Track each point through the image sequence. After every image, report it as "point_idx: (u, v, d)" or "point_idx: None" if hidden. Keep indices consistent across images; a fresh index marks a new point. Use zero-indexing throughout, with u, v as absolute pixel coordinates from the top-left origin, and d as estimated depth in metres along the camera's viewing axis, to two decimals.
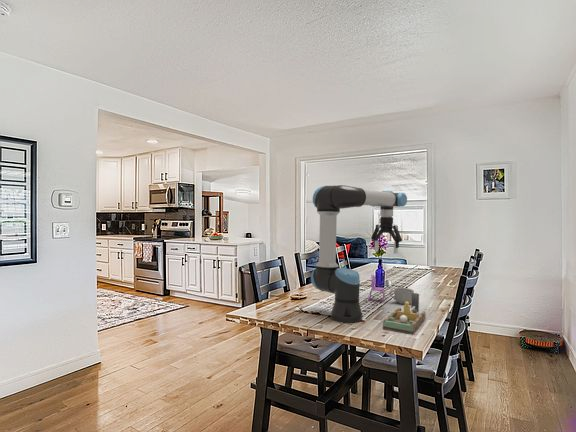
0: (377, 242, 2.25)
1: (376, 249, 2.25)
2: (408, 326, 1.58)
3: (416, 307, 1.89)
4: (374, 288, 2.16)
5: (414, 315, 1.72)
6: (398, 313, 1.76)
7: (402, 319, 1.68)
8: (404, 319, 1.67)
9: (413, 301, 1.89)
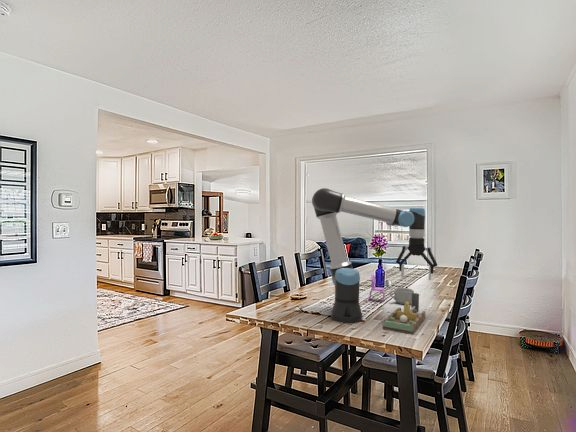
0: (403, 266, 1.94)
1: (403, 275, 1.93)
2: (408, 326, 1.58)
3: (416, 307, 1.89)
4: (374, 288, 2.16)
5: (414, 315, 1.72)
6: (398, 313, 1.76)
7: (402, 319, 1.68)
8: (404, 319, 1.67)
9: (413, 301, 1.89)
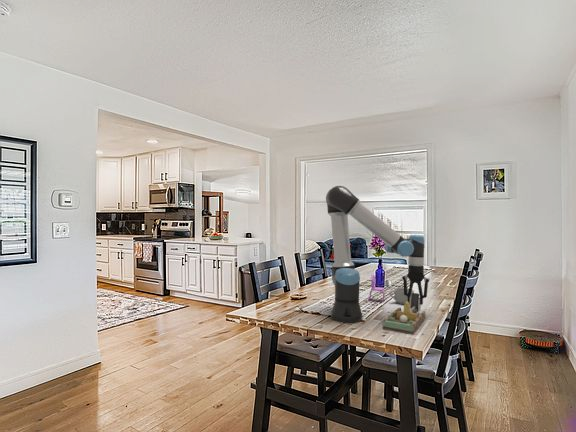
0: (411, 299, 1.92)
1: None
2: (408, 326, 1.58)
3: (416, 307, 1.89)
4: (374, 288, 2.16)
5: (414, 315, 1.72)
6: (398, 313, 1.76)
7: (402, 319, 1.68)
8: (404, 319, 1.67)
9: (413, 301, 1.89)
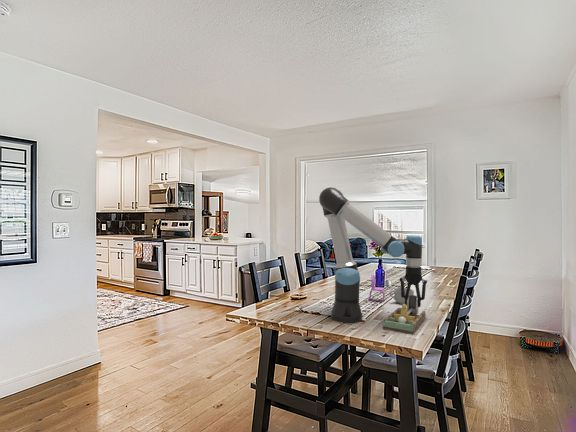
0: None
1: None
2: (408, 326, 1.58)
3: None
4: (374, 288, 2.16)
5: (411, 318, 1.68)
6: (395, 316, 1.71)
7: None
8: None
9: (410, 303, 1.85)
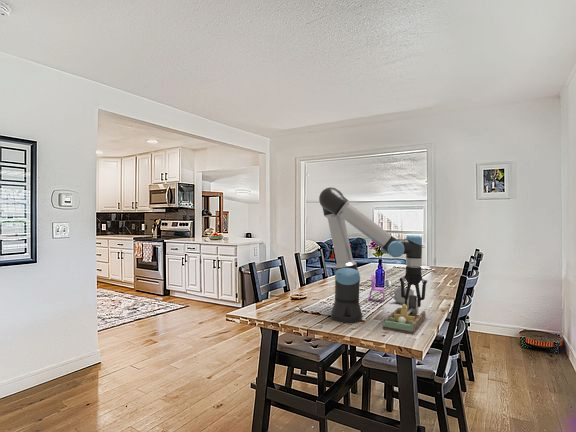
0: None
1: None
2: (408, 326, 1.58)
3: None
4: (374, 288, 2.16)
5: (411, 318, 1.68)
6: (395, 316, 1.71)
7: None
8: None
9: (410, 303, 1.85)
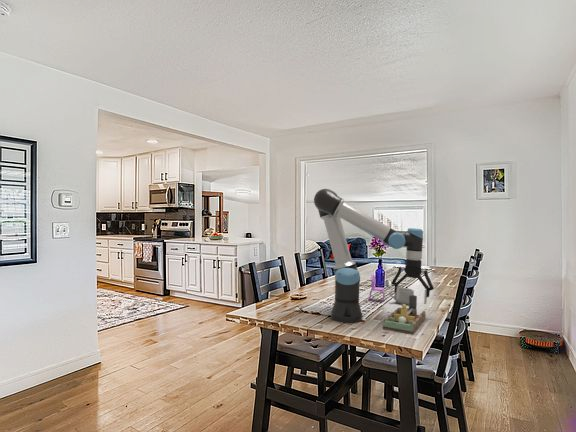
0: None
1: (398, 296, 1.88)
2: (408, 326, 1.58)
3: None
4: (374, 288, 2.16)
5: (411, 318, 1.68)
6: (395, 316, 1.71)
7: None
8: (404, 323, 1.66)
9: (410, 303, 1.85)
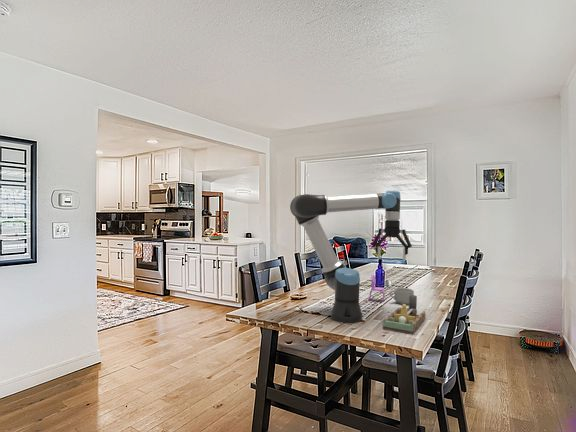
0: (380, 248, 2.00)
1: (379, 256, 2.00)
2: (408, 326, 1.58)
3: None
4: (374, 288, 2.16)
5: (411, 318, 1.68)
6: (395, 316, 1.71)
7: None
8: (404, 323, 1.66)
9: (410, 303, 1.85)
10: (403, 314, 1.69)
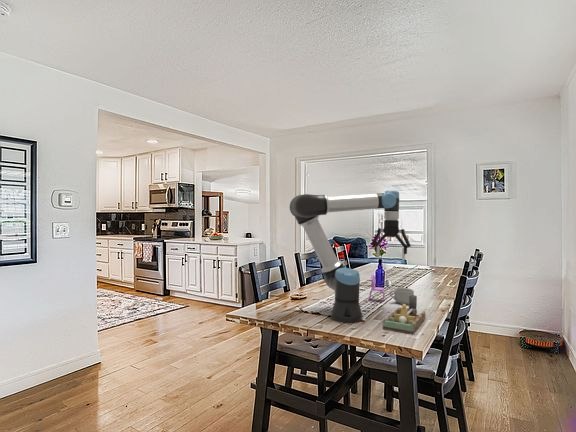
0: (379, 248, 2.01)
1: (378, 256, 2.00)
2: (408, 326, 1.58)
3: None
4: (374, 288, 2.16)
5: (411, 318, 1.68)
6: (395, 316, 1.71)
7: (401, 322, 1.67)
8: (404, 322, 1.66)
9: (410, 303, 1.85)
10: (403, 314, 1.69)
